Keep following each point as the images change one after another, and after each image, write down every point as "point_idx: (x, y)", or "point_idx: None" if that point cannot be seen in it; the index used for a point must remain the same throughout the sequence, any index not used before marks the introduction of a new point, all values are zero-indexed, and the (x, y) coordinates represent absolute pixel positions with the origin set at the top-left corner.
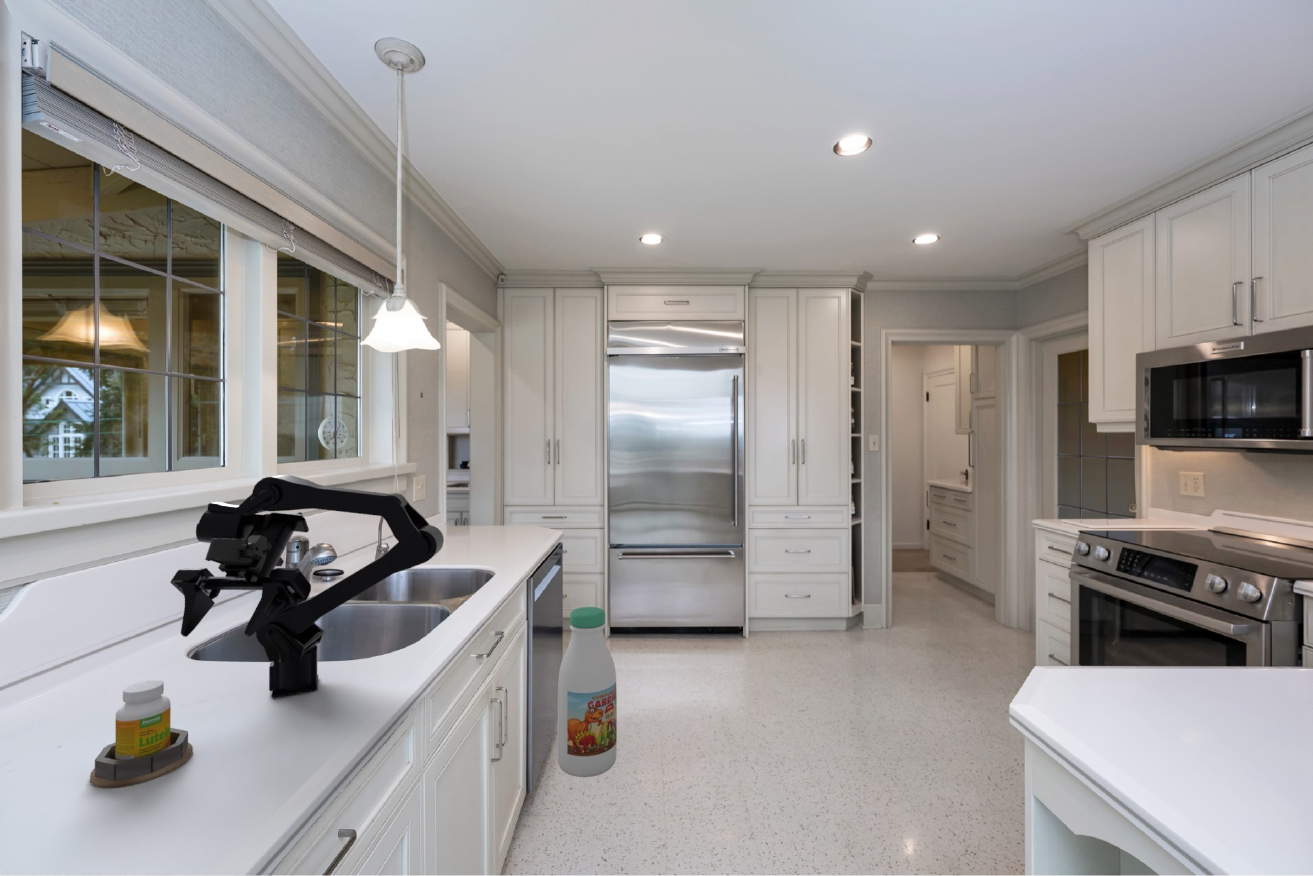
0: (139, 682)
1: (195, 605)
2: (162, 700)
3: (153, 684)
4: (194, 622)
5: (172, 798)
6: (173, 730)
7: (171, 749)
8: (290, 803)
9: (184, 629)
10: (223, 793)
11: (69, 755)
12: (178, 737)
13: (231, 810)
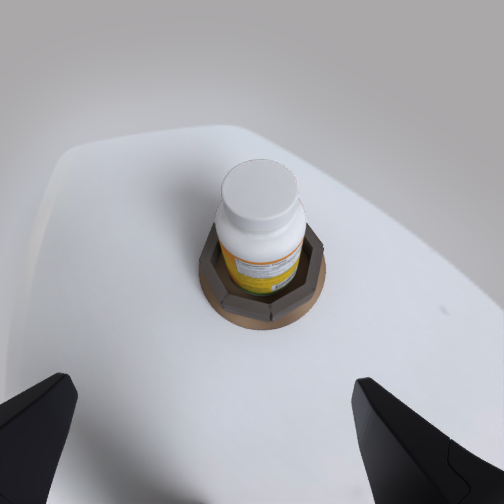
0: (289, 201)
1: (425, 497)
2: (225, 220)
3: (242, 194)
4: (374, 459)
5: (159, 203)
6: (251, 304)
7: (204, 247)
8: (48, 208)
9: (363, 387)
10: (109, 215)
11: (405, 288)
12: (220, 280)
13: (91, 193)
